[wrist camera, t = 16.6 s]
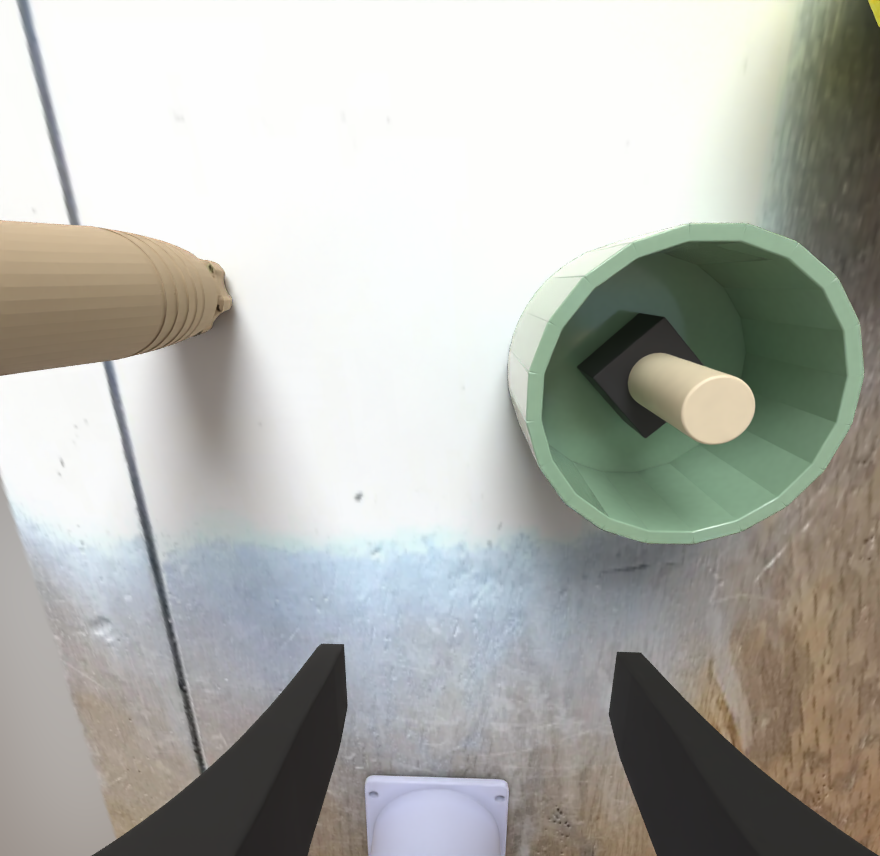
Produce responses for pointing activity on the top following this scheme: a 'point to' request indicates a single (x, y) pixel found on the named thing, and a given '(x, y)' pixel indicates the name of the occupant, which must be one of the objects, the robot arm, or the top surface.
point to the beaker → (718, 347)
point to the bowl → (875, 9)
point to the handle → (98, 295)
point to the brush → (667, 384)
